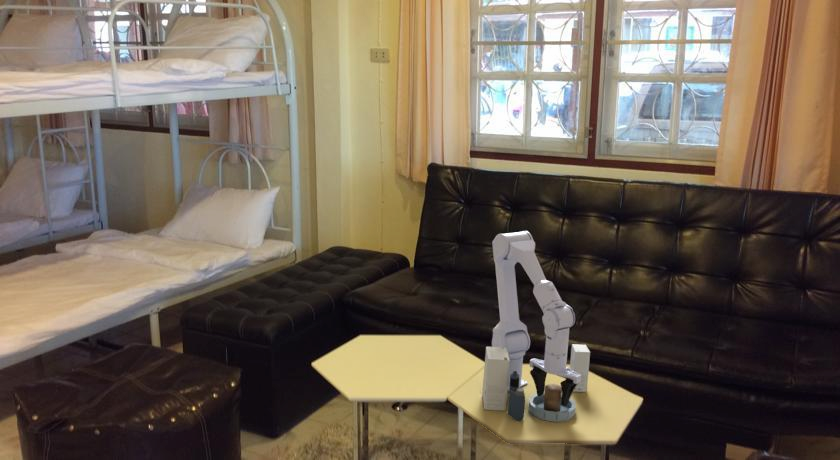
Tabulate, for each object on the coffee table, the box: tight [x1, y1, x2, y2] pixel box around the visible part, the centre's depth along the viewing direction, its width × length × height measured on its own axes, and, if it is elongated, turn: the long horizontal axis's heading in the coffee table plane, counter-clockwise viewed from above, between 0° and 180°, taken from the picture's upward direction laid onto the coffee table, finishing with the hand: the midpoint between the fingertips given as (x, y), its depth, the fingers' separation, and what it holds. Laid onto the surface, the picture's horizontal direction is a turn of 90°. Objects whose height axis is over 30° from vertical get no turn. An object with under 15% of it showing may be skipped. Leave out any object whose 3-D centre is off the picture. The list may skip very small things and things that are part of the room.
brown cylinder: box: [544, 383, 562, 412], centre depth 187 cm, size 4×4×6 cm
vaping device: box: [507, 371, 526, 422], centre depth 183 cm, size 3×5×12 cm, turn 27°
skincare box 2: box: [569, 343, 591, 393], centre depth 201 cm, size 6×4×12 cm
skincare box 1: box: [481, 346, 510, 411], centre depth 189 cm, size 8×6×15 cm
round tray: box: [528, 391, 577, 423], centre depth 188 cm, size 12×12×2 cm
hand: (552, 399), depth 187 cm, fingers open, 7 cm apart
